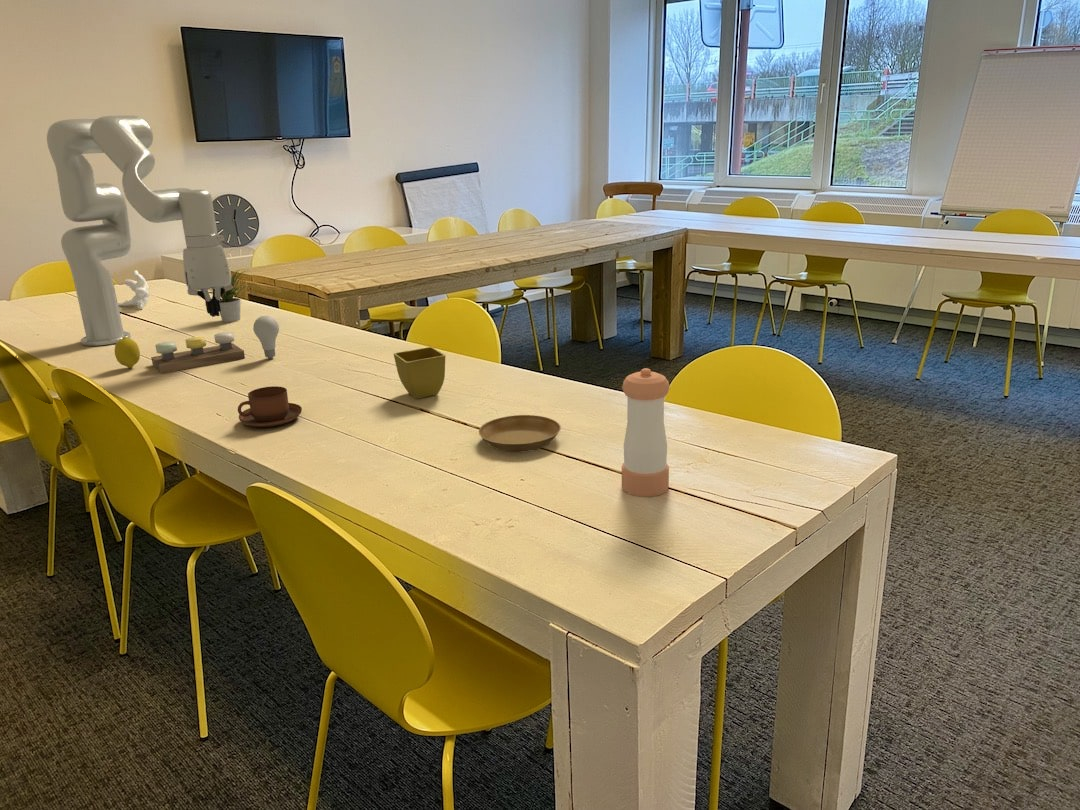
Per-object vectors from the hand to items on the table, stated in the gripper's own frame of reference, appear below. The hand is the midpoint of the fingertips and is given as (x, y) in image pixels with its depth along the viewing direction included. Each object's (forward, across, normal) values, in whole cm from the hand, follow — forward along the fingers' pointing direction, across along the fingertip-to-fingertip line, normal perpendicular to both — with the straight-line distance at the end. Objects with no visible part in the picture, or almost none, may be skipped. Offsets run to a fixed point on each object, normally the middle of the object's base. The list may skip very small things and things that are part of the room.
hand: (214, 315), depth 207 cm
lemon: (+11, +20, -6) cm, 24 cm away
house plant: (+11, -16, -42) cm, 46 cm away
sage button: (+10, +13, 0) cm, 16 cm away
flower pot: (+11, -24, +62) cm, 68 cm away
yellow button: (+10, +6, 0) cm, 11 cm away
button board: (+11, +6, 0) cm, 12 cm away
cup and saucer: (+11, +6, +57) cm, 58 cm away
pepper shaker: (+11, -29, +128) cm, 131 cm away
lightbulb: (+11, -9, +10) cm, 18 cm away
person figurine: (+11, +2, -88) cm, 89 cm away
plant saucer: (+11, -25, +98) cm, 102 cm away
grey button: (+10, -1, 0) cm, 10 cm away
